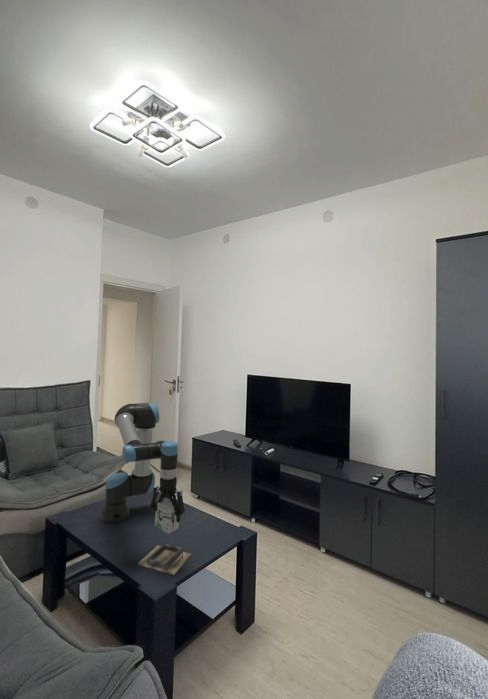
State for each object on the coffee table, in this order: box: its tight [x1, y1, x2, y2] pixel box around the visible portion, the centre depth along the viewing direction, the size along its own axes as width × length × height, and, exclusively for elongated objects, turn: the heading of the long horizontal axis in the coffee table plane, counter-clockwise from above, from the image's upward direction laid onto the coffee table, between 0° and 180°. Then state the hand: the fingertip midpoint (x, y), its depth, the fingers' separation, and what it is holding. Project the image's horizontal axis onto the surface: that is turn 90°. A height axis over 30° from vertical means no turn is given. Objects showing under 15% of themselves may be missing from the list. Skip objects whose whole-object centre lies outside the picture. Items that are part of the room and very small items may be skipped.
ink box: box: [155, 498, 176, 534], centre depth 157 cm, size 9×5×12 cm, turn 56°
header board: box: [138, 543, 192, 576], centre depth 157 cm, size 18×15×3 cm
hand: (166, 526), depth 157 cm, fingers closed on ink box, 9 cm apart
